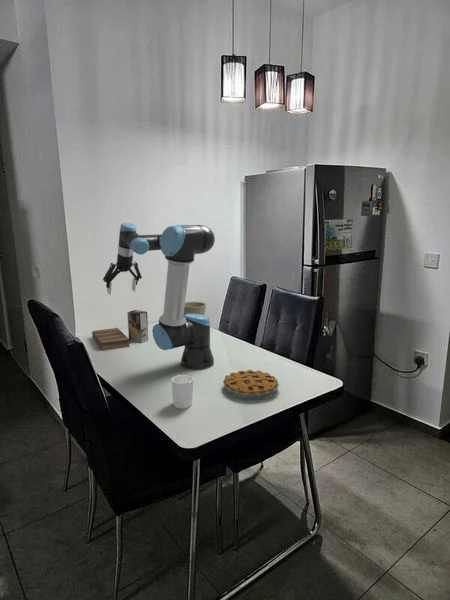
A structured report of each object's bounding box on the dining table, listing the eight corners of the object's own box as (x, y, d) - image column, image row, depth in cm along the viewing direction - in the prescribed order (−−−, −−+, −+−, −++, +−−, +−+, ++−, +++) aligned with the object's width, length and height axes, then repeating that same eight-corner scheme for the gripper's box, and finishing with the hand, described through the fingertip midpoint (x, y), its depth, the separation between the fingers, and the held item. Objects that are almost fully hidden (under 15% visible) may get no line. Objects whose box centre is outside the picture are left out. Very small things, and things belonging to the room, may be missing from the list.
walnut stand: (129, 346, 213) (129, 339, 212) (102, 350, 206) (101, 343, 205) (117, 334, 233) (117, 327, 232) (92, 337, 227) (92, 331, 226)
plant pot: (210, 329, 244) (210, 303, 240) (196, 335, 231) (195, 308, 228) (190, 325, 252) (190, 300, 248) (175, 331, 239) (174, 305, 236)
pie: (232, 405, 149) (232, 393, 148) (216, 382, 170) (216, 370, 169) (287, 398, 155) (288, 386, 154) (265, 376, 176) (266, 365, 175)
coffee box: (149, 340, 224) (148, 311, 220) (141, 343, 218) (140, 314, 215) (135, 337, 228) (134, 309, 224) (128, 340, 222) (126, 312, 219)
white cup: (194, 399, 154) (193, 374, 152) (193, 409, 146) (192, 383, 144) (173, 399, 153) (172, 374, 151) (171, 409, 146) (170, 383, 144)
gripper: (144, 249, 213) (139, 286, 222) (98, 252, 198) (95, 291, 207) (151, 255, 208) (146, 292, 218) (104, 258, 193) (101, 298, 202)
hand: (121, 291), depth 212 cm, fingers open, 13 cm apart
